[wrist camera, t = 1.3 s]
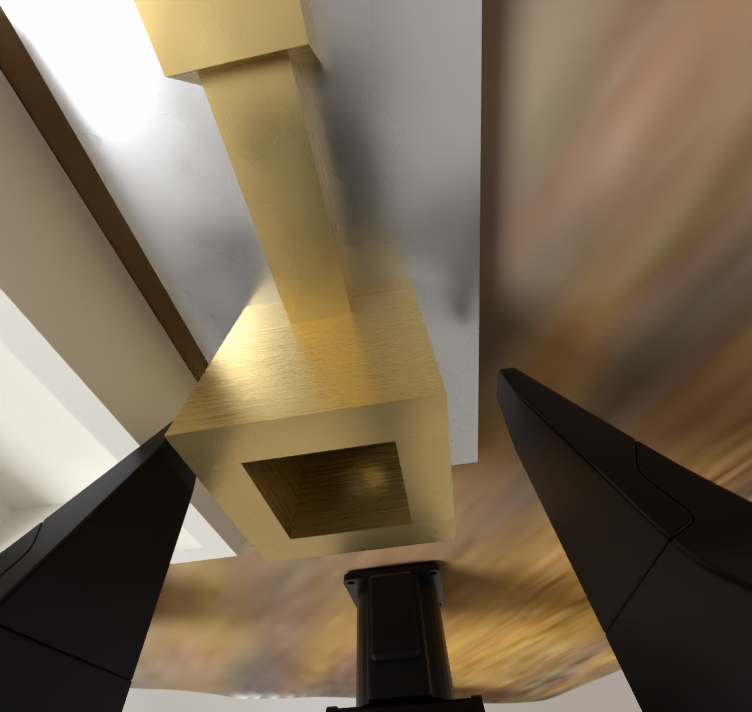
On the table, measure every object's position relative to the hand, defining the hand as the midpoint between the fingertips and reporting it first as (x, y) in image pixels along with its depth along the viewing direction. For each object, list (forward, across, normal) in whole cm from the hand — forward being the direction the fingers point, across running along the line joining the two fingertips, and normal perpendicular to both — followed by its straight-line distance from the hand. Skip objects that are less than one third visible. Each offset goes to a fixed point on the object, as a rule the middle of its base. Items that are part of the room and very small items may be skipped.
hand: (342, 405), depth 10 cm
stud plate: (+3, 0, -2) cm, 3 cm away
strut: (+2, 0, -4) cm, 4 cm away
